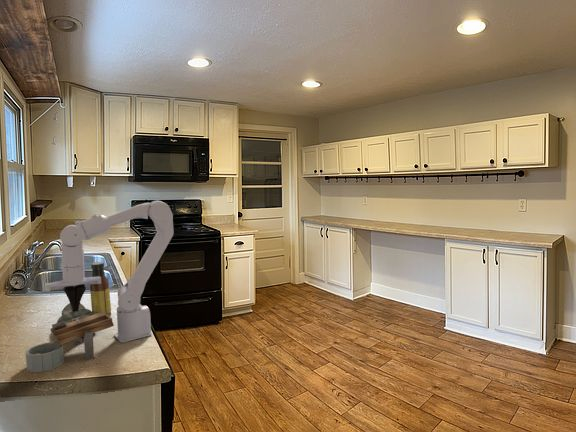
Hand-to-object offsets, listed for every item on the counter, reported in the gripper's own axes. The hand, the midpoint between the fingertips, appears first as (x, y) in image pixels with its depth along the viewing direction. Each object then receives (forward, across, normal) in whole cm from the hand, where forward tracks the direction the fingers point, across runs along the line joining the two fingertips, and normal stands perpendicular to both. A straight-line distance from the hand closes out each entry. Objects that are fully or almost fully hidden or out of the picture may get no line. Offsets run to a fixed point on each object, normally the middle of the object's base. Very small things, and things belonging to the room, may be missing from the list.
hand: (75, 310), depth 118 cm
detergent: (+11, -4, -16) cm, 20 cm away
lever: (+3, 0, +6) cm, 7 cm away
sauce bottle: (+10, -12, -21) cm, 27 cm away
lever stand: (+10, 0, +6) cm, 12 cm away
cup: (+10, +9, +9) cm, 17 cm away
